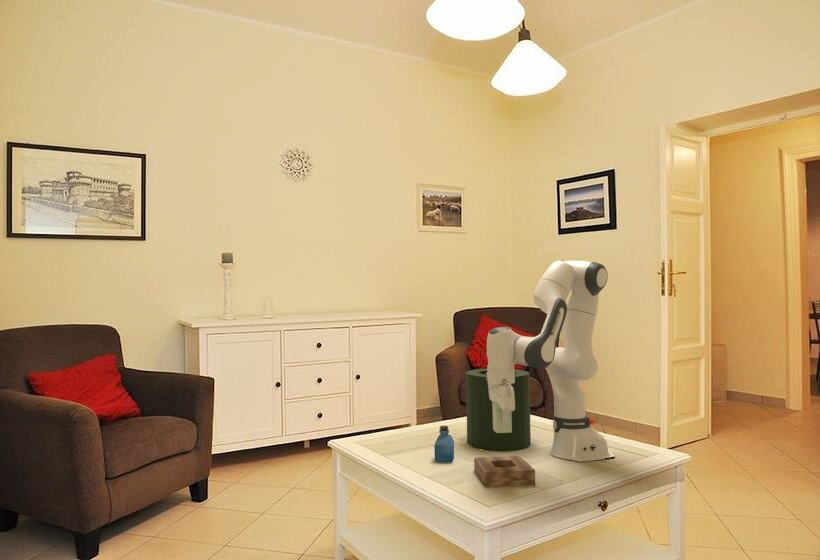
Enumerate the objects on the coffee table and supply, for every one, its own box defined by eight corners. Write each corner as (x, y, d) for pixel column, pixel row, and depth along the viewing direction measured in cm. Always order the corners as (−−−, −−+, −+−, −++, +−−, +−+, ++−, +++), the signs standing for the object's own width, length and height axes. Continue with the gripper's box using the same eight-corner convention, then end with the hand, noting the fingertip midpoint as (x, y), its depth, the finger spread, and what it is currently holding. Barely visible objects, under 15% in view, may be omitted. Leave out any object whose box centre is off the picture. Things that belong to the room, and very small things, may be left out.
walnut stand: (520, 468, 194) (520, 455, 194) (535, 484, 178) (535, 470, 178) (474, 470, 192) (474, 457, 192) (485, 487, 176) (484, 472, 176)
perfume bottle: (451, 462, 202) (451, 428, 202) (434, 462, 203) (434, 428, 203) (454, 457, 208) (453, 424, 208) (437, 457, 209) (436, 424, 209)
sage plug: (507, 428, 188) (507, 401, 188) (511, 432, 183) (511, 404, 183) (493, 429, 188) (492, 401, 188) (496, 433, 183) (495, 405, 183)
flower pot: (543, 442, 227) (541, 372, 228) (505, 455, 210) (504, 379, 210) (492, 431, 245) (491, 366, 246) (454, 443, 228) (453, 373, 228)
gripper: (519, 381, 176) (520, 426, 175) (502, 372, 196) (503, 412, 196) (499, 382, 175) (500, 427, 175) (484, 373, 195) (485, 413, 195)
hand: (502, 419), depth 186 cm, fingers closed on sage plug, 5 cm apart
